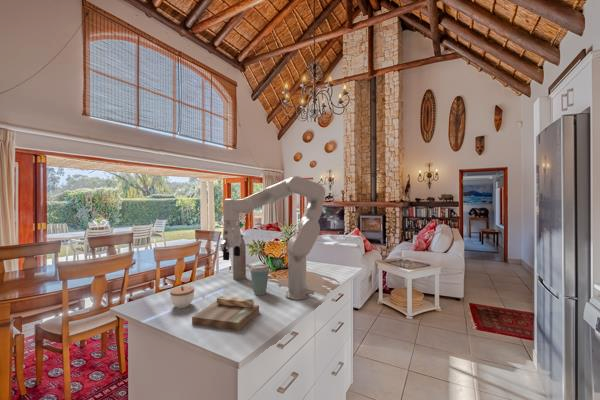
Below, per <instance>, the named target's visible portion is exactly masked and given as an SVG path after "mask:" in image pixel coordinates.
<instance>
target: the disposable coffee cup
mask: <svg viewBox="0 0 600 400" xmlns="http://www.w3.org/2000/svg"><path fill="white" fill-rule="evenodd" d="M270 270H271V268H270V265H269V264H256V265H253V266H251V267H250V276H251V282H252V291H253V293H254V295H256V296H257V295H258V296H261V295H265V294H266V292H267V287H268V280H269V274H270Z"/></svg>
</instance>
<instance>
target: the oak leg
mask: <svg viewBox="0 0 600 400" xmlns="http://www.w3.org/2000/svg"><path fill="white" fill-rule="evenodd" d="M216 301H217V304H222V305H231V306H239V307H248V308H251V307H252V306H253V305H255V304H254V299H251V298H250V299H249V298H240V297H233V296H224V295H223V296H222V295H220V296H218V297H217V298H216Z"/></svg>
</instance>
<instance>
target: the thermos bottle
mask: <svg viewBox="0 0 600 400" xmlns="http://www.w3.org/2000/svg"><path fill="white" fill-rule="evenodd" d="M241 239H242V241H241V245H240V246H241V247H240V256H234V248H235V247H232V279H233V280H234V281H242V280H245V279H246V278H247V275H246V274H247V270H246V269H247V266H246V263H247V262H246V259H247V257H246V250H247V249H246V242H245V239H244V235H243V234H241Z"/></svg>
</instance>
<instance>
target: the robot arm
mask: <svg viewBox="0 0 600 400" xmlns="http://www.w3.org/2000/svg"><path fill="white" fill-rule="evenodd" d="M294 194H297V195H300V196H303V197H305V198H306V200H307V206H306V208H305V211H304V213H303V214H302V217H301V219H300V220H299V222H298V223H297V224H298V225H297V229H298V232H299V233H298V234H297V235H293V236H291V237H289V239H288V242H287V244H286V245H287V246H286V247H287V248H286V249H287V265H288V267H287V274H288V277H287V278H288V279H287V280H288V291H286V292H285V297H286V298H287V299H289V300H295V301H299V300H301V301H302V300H305V299H308V298H309V297H310V295H311V296H312V295H313V296H314V295H315V290H314V289H311V288H310V289H309V286H307V256H308V255H309V254H310V252H311V251H312V249H313V247H314V245H315V243H316V241H317V239H318V237H319V235H320V232H321V226H320V222H319V220H320V218H321V215H322V213H323V210H324V202H323V198H324V197H325V196H326V188H325V187H324V186H323V185H322V184H321V183H318V182H315V181H312V180H310V179H306V178H304V177H301V176H299V175H298V176H297V175H296V176H291V177H288V178H286V179H283V180H281V181H280V182H277V183H275V184H272V185H270V186H267V187H266V188H264V189H262V190H260V191H258V192H256V193H253V194H251V195H249V196H247V197H244V198H241V199H237V198H225V199H224V200H223V229H222V230H223V231H222V241H221V243H220V245H219V246H220V248H221V251H222V259H223V261H230V248H233V247H235V248H234V256H240V247H241V246H240V245H241V241H242V239H241V235H242V233H241V225H240V213H241V214H250V213H252V212H253V211H254V210H256V209H258V208H260V207H263V206H265V205H268V204H273V203H276V202H279V201H281V200H284V199H285V198H288V197H290V196H292V195H294Z"/></svg>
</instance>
